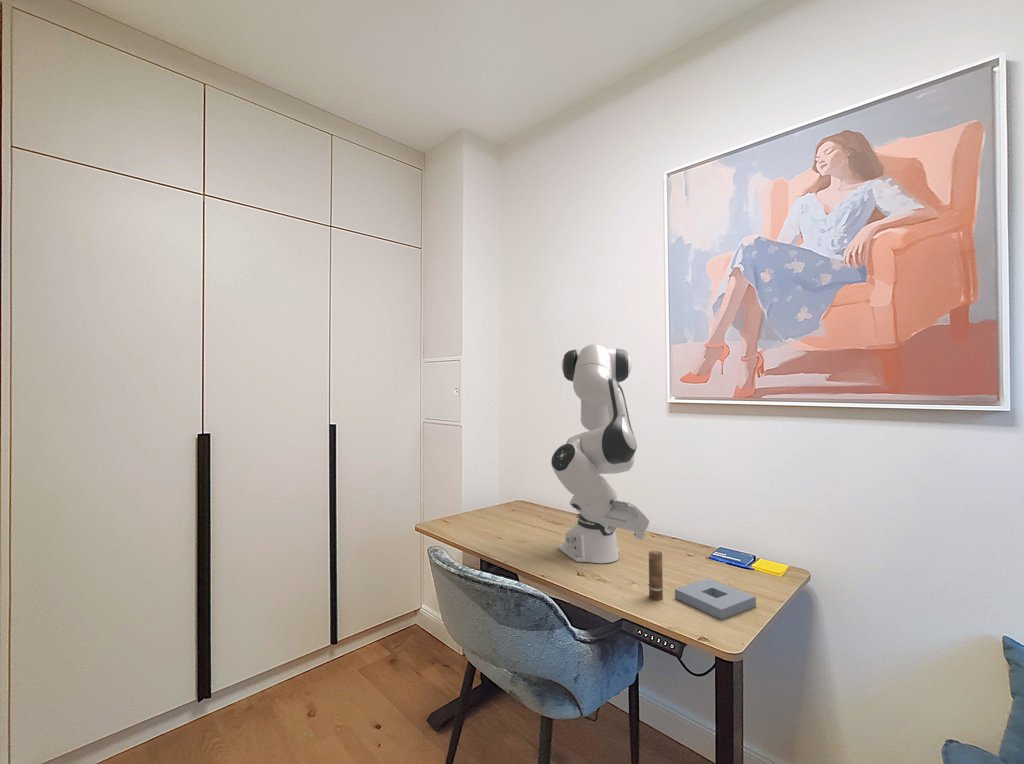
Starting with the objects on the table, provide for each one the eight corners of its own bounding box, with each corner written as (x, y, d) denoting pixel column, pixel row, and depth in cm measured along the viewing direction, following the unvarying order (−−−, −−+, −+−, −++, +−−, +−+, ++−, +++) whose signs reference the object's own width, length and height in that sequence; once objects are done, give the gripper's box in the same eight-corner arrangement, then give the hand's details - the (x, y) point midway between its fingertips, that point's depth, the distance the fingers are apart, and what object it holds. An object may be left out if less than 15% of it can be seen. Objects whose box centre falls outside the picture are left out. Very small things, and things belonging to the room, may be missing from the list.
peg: (646, 596, 126) (645, 551, 126) (655, 593, 127) (654, 549, 128) (656, 601, 123) (655, 555, 123) (665, 598, 124) (665, 553, 125)
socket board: (675, 598, 124) (674, 588, 124) (708, 587, 131) (708, 578, 132) (721, 619, 112) (721, 609, 112) (755, 606, 119) (755, 596, 119)
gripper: (636, 493, 107) (665, 530, 112) (577, 484, 124) (604, 517, 129) (623, 515, 104) (653, 552, 109) (564, 502, 121) (593, 535, 126)
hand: (626, 533), depth 119 cm, fingers open, 8 cm apart
